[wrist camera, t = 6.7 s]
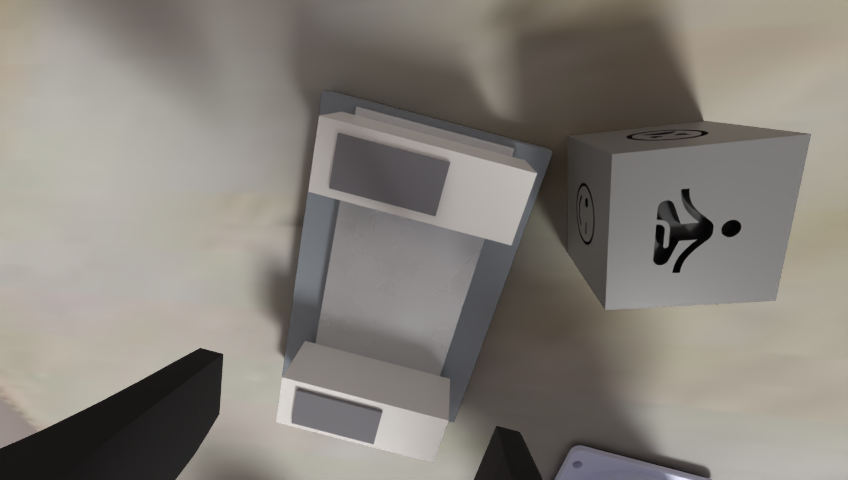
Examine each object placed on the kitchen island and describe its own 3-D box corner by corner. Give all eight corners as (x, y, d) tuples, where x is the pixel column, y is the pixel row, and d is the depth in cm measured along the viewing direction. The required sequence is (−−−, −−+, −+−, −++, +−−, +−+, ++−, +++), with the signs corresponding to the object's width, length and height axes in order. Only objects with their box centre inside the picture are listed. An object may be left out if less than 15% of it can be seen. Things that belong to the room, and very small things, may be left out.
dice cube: (567, 135, 16) (612, 154, 11) (702, 120, 15) (810, 134, 10) (566, 251, 17) (605, 309, 13) (688, 242, 17) (775, 300, 12)
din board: (454, 407, 21) (453, 430, 20) (289, 364, 21) (277, 384, 19) (547, 148, 16) (555, 154, 14) (330, 90, 16) (317, 90, 14)
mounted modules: (436, 418, 19) (433, 466, 17) (298, 381, 19) (274, 424, 17) (525, 159, 15) (537, 174, 12) (341, 111, 15) (317, 115, 12)
